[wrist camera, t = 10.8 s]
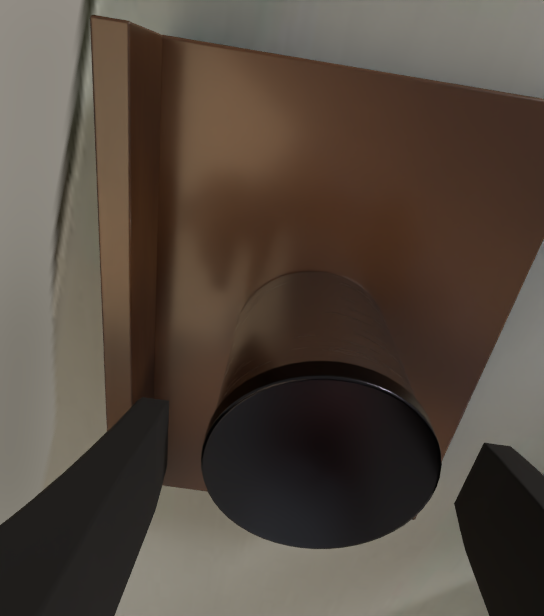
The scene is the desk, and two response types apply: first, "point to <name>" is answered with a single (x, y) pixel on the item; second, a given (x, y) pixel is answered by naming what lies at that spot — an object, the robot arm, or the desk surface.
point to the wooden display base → (300, 214)
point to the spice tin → (317, 420)
